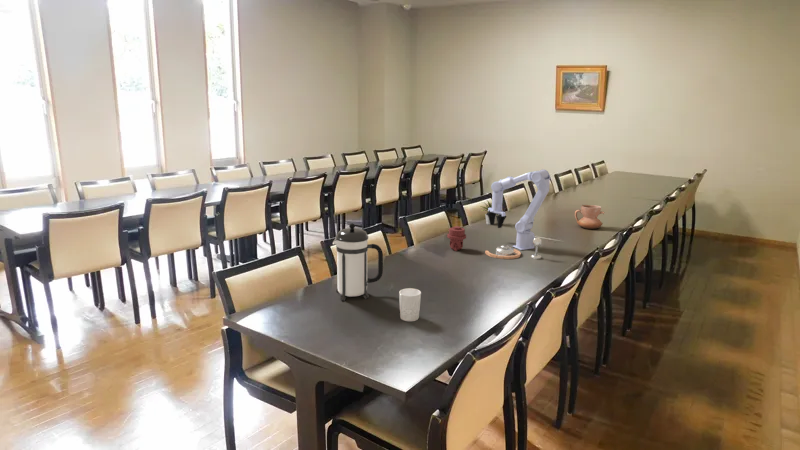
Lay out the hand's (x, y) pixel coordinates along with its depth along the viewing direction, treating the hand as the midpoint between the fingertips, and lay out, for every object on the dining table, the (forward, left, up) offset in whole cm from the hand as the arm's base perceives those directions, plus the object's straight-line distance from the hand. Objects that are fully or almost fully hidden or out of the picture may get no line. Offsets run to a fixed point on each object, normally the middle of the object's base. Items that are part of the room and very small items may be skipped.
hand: (495, 226), depth 289 cm
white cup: (+89, +78, -10) cm, 119 cm away
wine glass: (-3, +33, -9) cm, 34 cm away
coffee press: (+100, +49, -10) cm, 112 cm away
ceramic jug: (-78, -10, -10) cm, 79 cm away
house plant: (-24, -41, -10) cm, 48 cm away
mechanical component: (+28, +5, -10) cm, 30 cm away
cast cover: (+9, +23, -10) cm, 26 cm away
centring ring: (+9, +23, -9) cm, 26 cm away
